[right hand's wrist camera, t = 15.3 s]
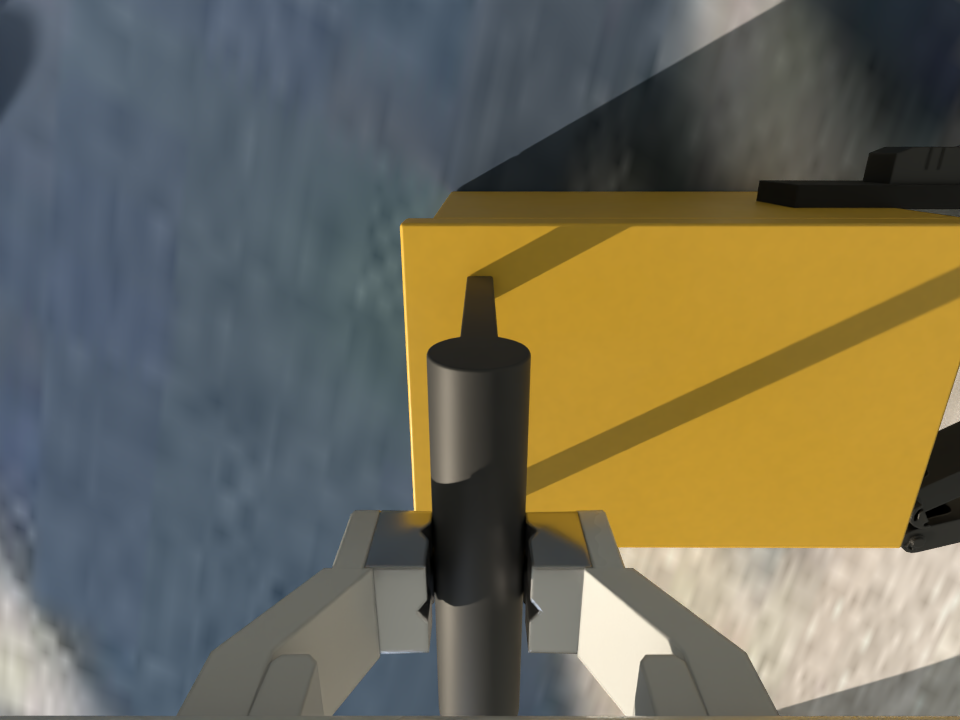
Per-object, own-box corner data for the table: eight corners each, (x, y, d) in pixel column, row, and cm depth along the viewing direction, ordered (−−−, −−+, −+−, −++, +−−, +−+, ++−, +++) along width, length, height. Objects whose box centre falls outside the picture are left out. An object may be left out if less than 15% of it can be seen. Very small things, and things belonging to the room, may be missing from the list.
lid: (419, 525, 19) (375, 785, 11) (405, 218, 16) (327, 287, 8) (877, 526, 19) (1152, 788, 11) (970, 218, 16) (1467, 288, 8)
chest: (454, 397, 29) (441, 524, 19) (451, 191, 26) (432, 218, 16) (742, 398, 29) (876, 525, 19) (780, 191, 26) (968, 217, 16)
